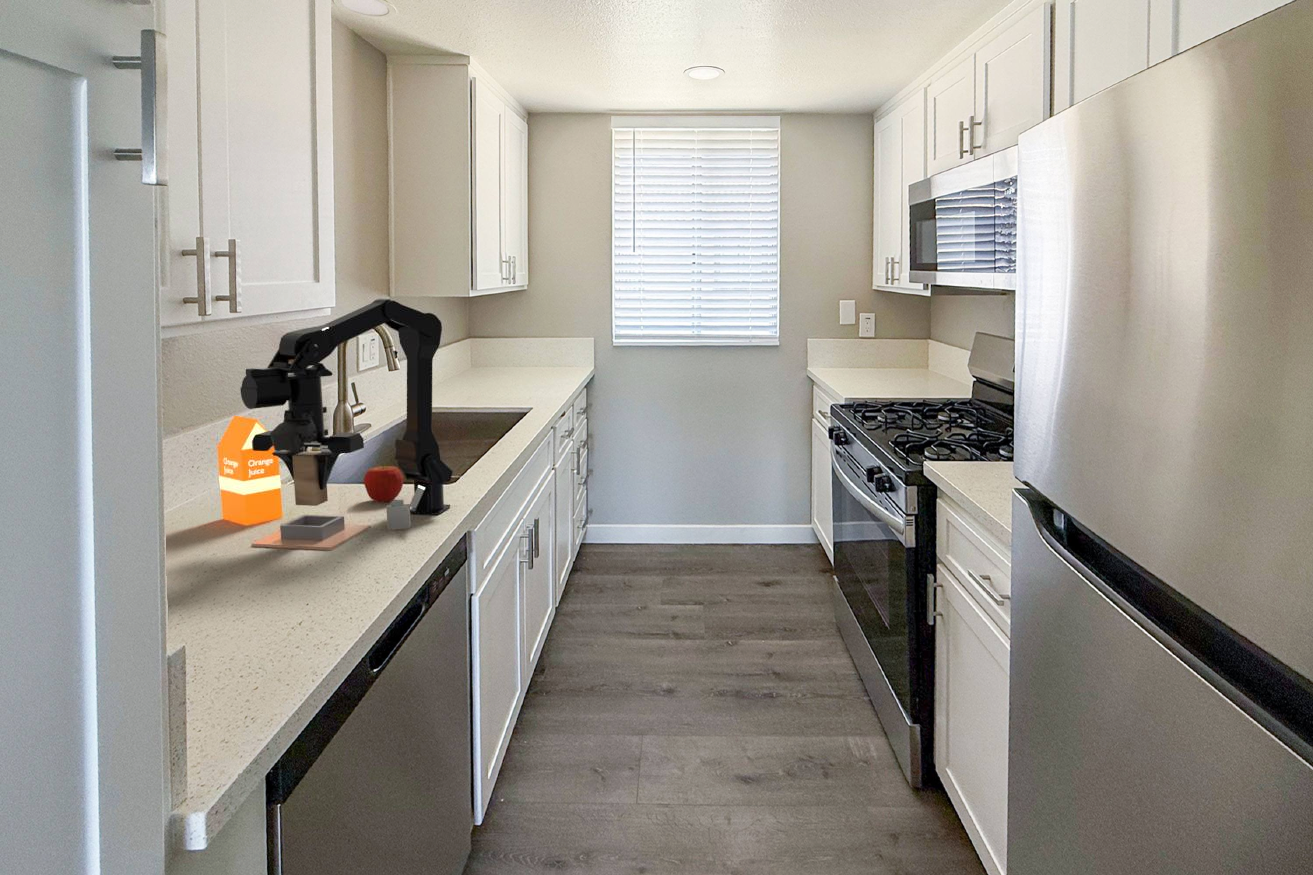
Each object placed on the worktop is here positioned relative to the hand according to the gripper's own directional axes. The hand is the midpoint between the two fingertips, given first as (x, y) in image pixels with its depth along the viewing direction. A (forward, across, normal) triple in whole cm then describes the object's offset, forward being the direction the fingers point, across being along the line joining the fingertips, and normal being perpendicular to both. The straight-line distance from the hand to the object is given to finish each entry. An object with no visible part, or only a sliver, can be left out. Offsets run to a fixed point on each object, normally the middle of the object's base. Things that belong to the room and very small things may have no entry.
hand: (311, 489), depth 169 cm
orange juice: (+9, -19, +11) cm, 24 cm away
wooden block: (+2, 0, 0) cm, 3 cm away
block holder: (+9, 0, 0) cm, 9 cm away
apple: (+9, 0, +29) cm, 30 cm away
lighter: (+9, +14, +9) cm, 19 cm away
